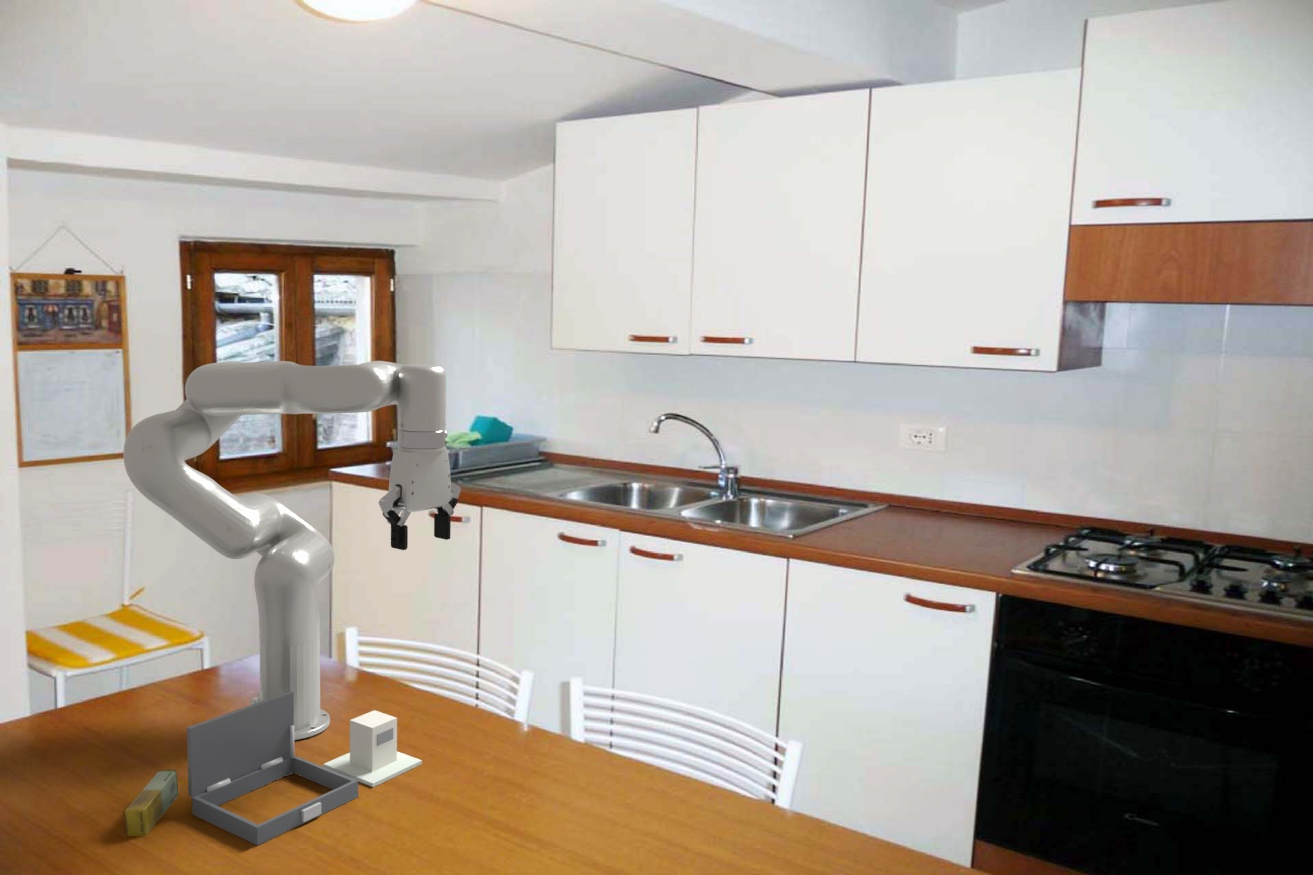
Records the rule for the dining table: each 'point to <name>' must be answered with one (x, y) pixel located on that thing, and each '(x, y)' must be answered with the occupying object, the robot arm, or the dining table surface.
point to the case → (255, 768)
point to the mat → (374, 777)
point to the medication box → (151, 803)
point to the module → (373, 740)
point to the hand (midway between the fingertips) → (421, 543)
